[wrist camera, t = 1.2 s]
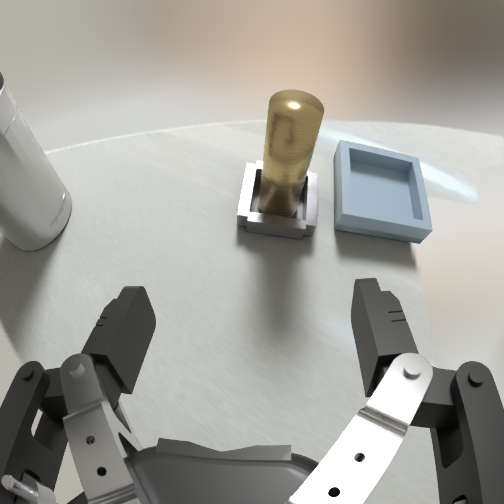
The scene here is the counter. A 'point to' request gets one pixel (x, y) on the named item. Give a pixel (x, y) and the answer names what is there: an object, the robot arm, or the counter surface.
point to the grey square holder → (273, 222)
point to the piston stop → (288, 150)
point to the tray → (379, 193)
